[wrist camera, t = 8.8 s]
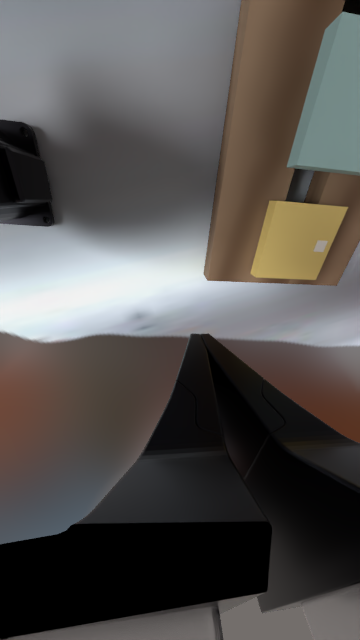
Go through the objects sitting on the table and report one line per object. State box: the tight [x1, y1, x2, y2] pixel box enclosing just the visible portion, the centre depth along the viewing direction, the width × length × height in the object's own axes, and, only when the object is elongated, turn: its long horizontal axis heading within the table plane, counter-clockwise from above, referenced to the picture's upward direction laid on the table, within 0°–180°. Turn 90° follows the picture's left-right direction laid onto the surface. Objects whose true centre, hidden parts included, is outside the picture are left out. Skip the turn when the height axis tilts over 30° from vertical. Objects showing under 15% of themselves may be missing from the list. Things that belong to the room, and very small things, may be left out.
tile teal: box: [287, 12, 360, 176], centre depth 13 cm, size 6×6×3 cm
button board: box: [204, 0, 360, 286], centre depth 15 cm, size 14×24×2 cm, turn 176°
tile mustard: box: [251, 201, 348, 280], centre depth 18 cm, size 6×6×3 cm
